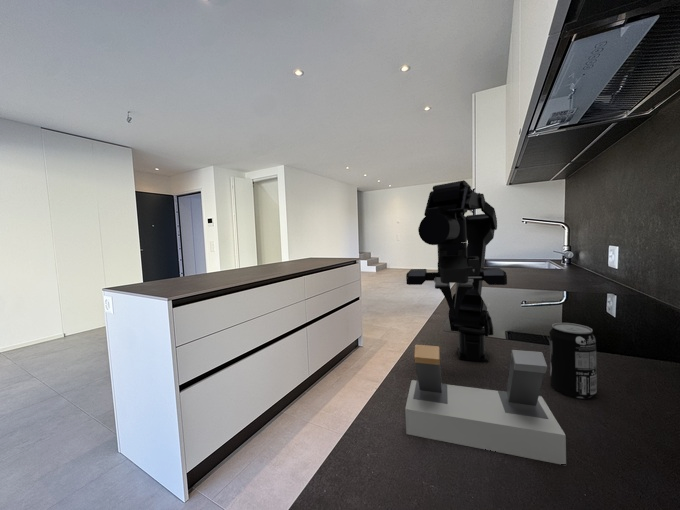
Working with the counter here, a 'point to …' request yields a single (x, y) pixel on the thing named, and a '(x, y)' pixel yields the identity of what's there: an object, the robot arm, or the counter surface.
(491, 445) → the grey mounting base
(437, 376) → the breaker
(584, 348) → the beverage can
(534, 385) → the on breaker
